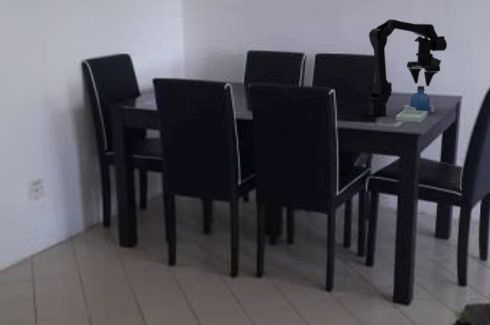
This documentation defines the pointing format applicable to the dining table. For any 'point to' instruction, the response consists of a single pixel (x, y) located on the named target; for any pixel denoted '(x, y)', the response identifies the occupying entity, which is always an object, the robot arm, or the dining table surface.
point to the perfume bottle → (420, 100)
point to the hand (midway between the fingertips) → (421, 84)
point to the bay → (408, 107)
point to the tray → (411, 116)
